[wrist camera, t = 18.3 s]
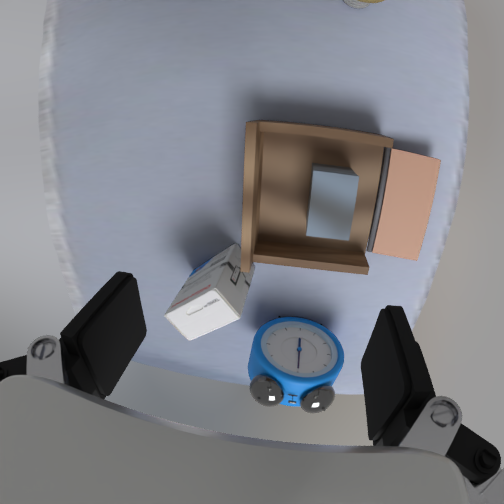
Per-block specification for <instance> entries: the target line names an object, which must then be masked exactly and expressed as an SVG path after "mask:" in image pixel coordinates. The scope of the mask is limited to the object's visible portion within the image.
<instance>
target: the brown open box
mask: <svg viewBox="0 0 504 504" xmlns="http://www.w3.org/2000/svg"><path fill="white" fill-rule="evenodd" d="M393 141H394V139H392V138H389V137H386V136H383V135H380V134H374V133H369V132H363V131H357V130H351V129H344V128H337V127H330V126H322V125H314V124H305V123H294V122H283V121H269V120H255V121H250V122H246V133H245V157H244V183H243V210H242V239H241V271H240V272H247V273H249V272H250V269H251V266H252V263H253V262H258V263H266V264H275V265H284V266H292V267H301V268H310V269H319V270H328V271H337V272H346V273H356V274H365V275H368V271H369V265H368V262H367V260H366V257H365V251H366V247H367V242H368V237H369V233H370V228H371V223H372V218H373V213H374V208H375V202H376V197H377V191H378V185H379V179H380V172H381V165H382V158H383V151H384V147H388V148H393ZM312 163H318V164H327V165H335V166H342V167H349V168H352V170H353V171H354V172H355V173H356V174H357V175H358V176H359V182H358V189H357V196H356V202H355V208H354V214H353V220H352V226H351V231H350V237H349V241H347V240H339V239H330V238H321V237H312V236H306V230H307V228H306V217H307V208H308V199H309V189H310V180H311V169H312Z"/></svg>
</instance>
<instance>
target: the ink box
mask: <svg viewBox="0 0 504 504" xmlns="http://www.w3.org/2000/svg"><path fill="white" fill-rule="evenodd" d="M254 270H255V267H254V265H253V264H252V266H251V269H250V272H249V273H247V272H240V271H241V248H240V247H239V245H238V244H237V243H235V244H233V245H232V246H230V247H228V248H227V249H225V250H224V251H222V252H221V253H219V254H218V255H216V256H214V257H213V258H211V259H210V260H208V261H207V262H205V263H204V264H202V265H201V266H199V267H197V268H196V269H194V270H193V272H192V273H191V275H190V276H189V278H188V279H187V281H186V282H185V284H184V285H183V287H182V289H181V290H180V291H179V293H178V294H177V296H176V298H175V299H174V301H173V302H172V304H171V305H170V307H169V308H168V310H167V312H166V313H165V315H164V316H165V317H166V318H167V319H168V320H169V322H170V323H171V324H172V325H173V326H174V327H175V328H176V329H177V330H178V331H179V332H180V333H181V334H182V335H183V336H184V337H185V338H186V339H187V340H189V341H190V340H193V339H195V338H197V337H200V336H202V335H204V334H207V333H209V332H211V331H213V330H216V329H218V328H220V327H222V326H225V325H227V324H229V323H231V322H234V321H236V320H238V319H240V317H241V314H242V310H243V307H244V304H245V300H246V297H247V293H248V290H249V287H250V283H251V280H252V276H253V273H254Z"/></svg>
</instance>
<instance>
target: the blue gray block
mask: <svg viewBox="0 0 504 504" xmlns="http://www.w3.org/2000/svg"><path fill="white" fill-rule="evenodd" d="M358 182H359V176H358V175H357V174H356V173H355V172H354V171H353V170H352V168H349V167H342V166H335V165H327V164H318V163H312V169H311V180H310V189H309V199H308V208H307V217H306V228H307V230H306V236H312V237H321V238H330V239H339V240H347V241H349V237H350V231H351V226H352V220H353V214H354V208H355V202H356V196H357V189H358Z"/></svg>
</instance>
